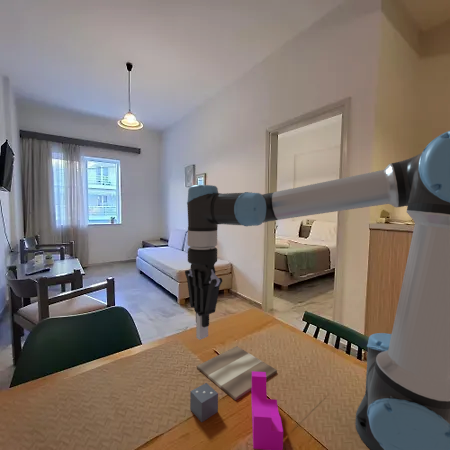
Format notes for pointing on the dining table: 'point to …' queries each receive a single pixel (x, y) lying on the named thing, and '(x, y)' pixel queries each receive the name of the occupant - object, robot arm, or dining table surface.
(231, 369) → the board
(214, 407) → the die
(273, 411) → the toy block
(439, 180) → the robot arm
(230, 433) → the dining table surface
